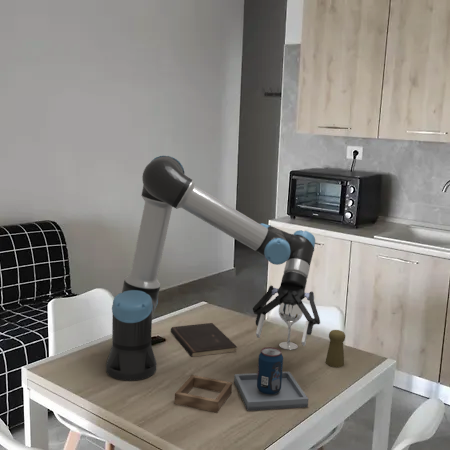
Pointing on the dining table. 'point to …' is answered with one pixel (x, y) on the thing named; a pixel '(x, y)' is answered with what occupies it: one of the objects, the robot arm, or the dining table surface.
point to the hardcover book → (203, 339)
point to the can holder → (203, 402)
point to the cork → (336, 349)
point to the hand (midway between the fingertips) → (280, 339)
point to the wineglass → (289, 322)
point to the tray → (283, 399)
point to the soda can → (270, 371)
